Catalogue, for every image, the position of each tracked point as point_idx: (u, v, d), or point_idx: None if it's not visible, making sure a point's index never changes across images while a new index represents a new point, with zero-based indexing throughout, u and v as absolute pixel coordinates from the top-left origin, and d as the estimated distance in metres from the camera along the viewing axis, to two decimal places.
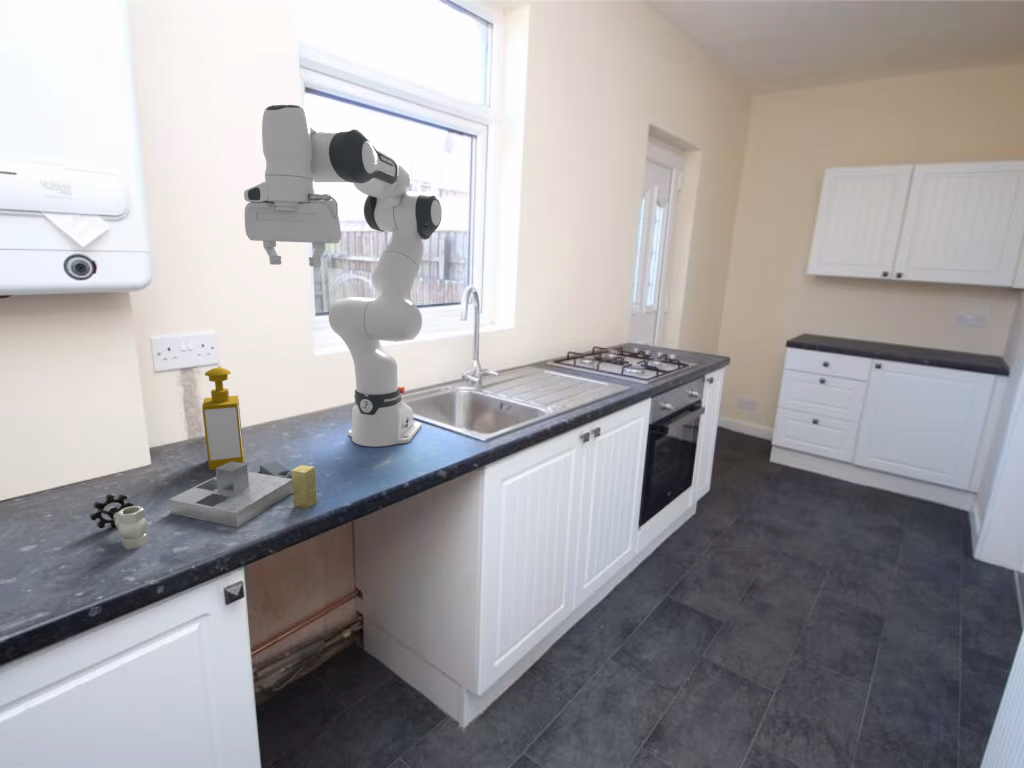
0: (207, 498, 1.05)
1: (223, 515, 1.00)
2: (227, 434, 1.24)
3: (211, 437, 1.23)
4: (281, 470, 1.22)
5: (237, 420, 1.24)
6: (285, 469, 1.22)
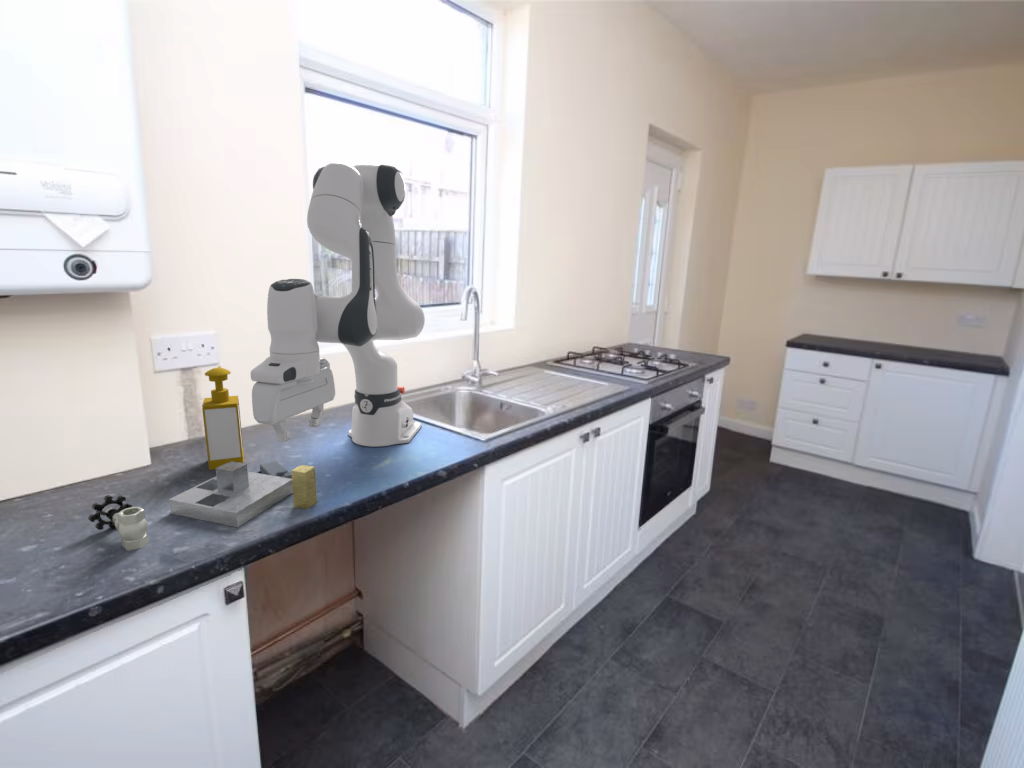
0: (207, 498, 1.05)
1: (223, 515, 1.00)
2: (227, 434, 1.24)
3: (211, 437, 1.23)
4: (279, 471, 1.21)
5: (237, 420, 1.24)
6: (283, 470, 1.22)
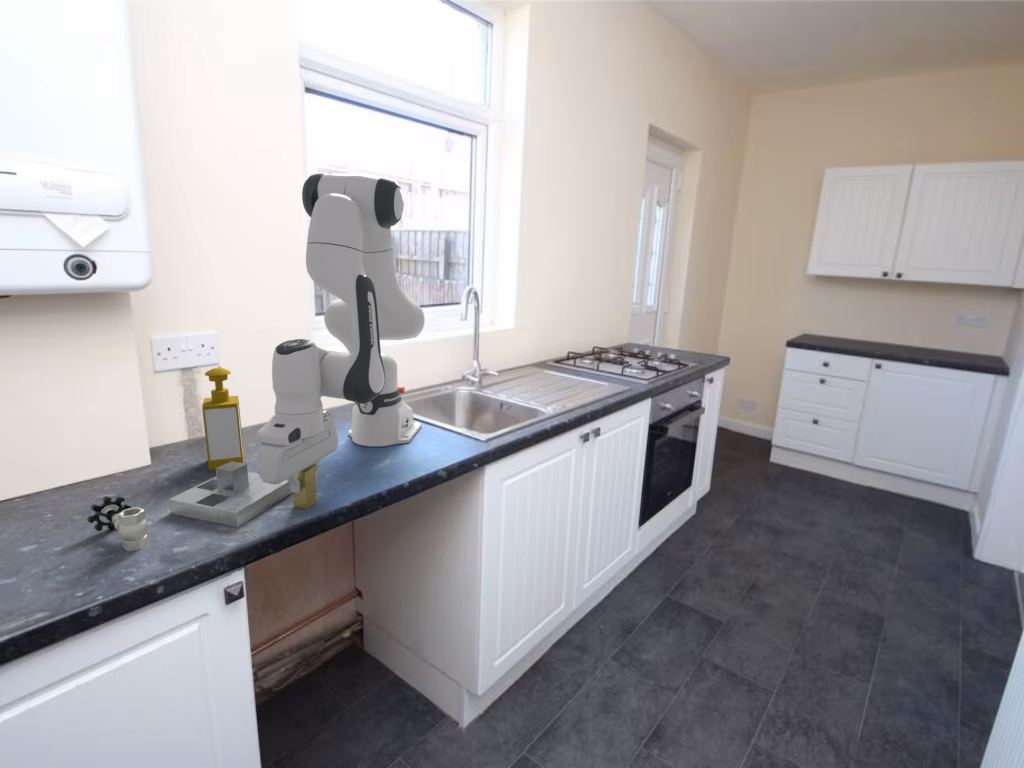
0: (207, 498, 1.05)
1: (223, 515, 1.00)
2: (227, 434, 1.24)
3: (211, 437, 1.23)
4: None
5: (237, 420, 1.24)
6: None
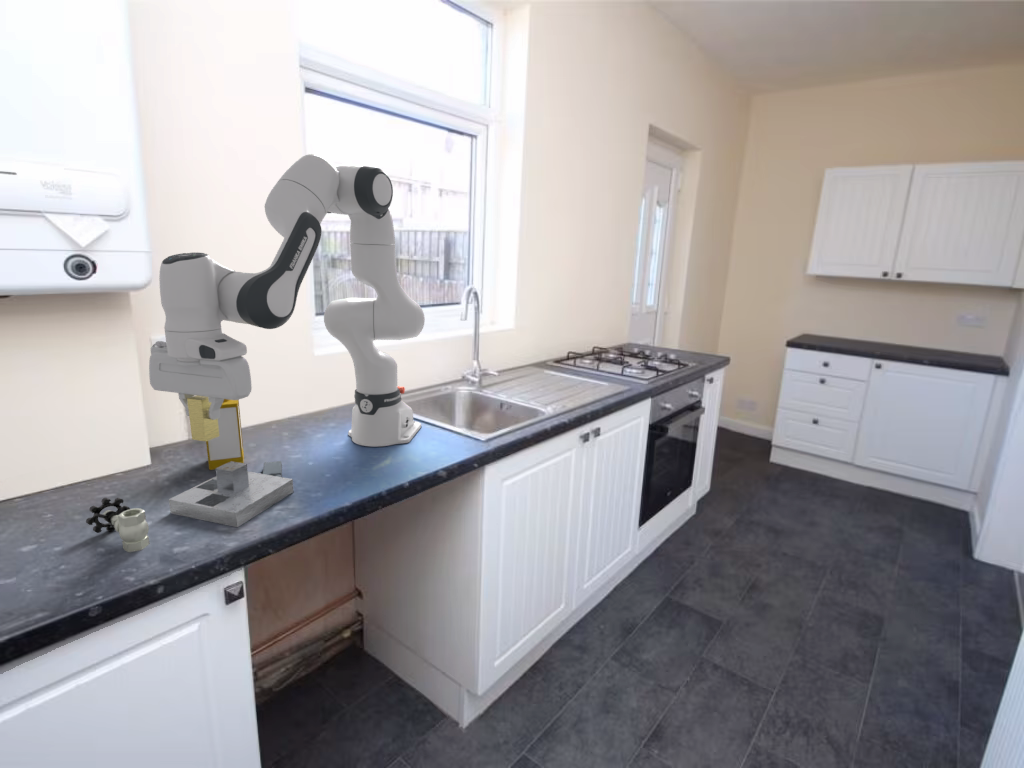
0: (207, 498, 1.05)
1: (223, 515, 1.00)
2: (227, 434, 1.24)
3: None
4: (274, 472, 1.21)
5: (237, 420, 1.24)
6: (278, 471, 1.21)
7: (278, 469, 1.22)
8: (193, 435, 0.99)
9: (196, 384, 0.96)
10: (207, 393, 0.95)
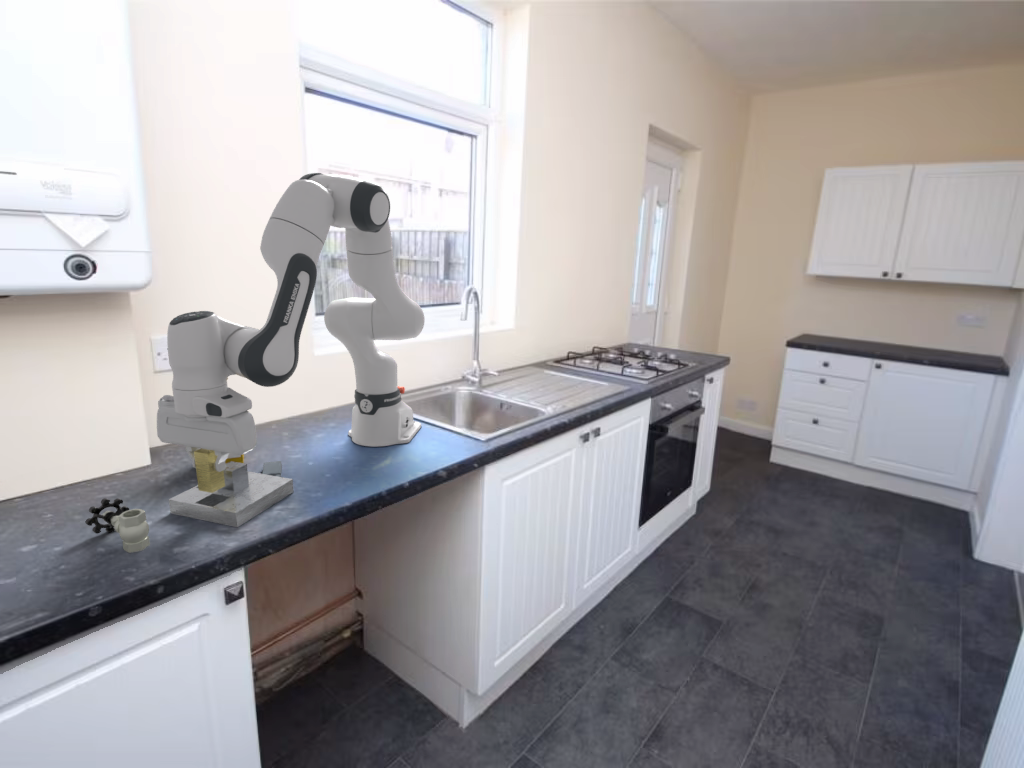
0: (207, 498, 1.05)
1: (223, 515, 1.00)
2: None
3: None
4: (273, 472, 1.21)
5: None
6: (277, 471, 1.21)
7: (278, 469, 1.22)
8: (199, 486, 1.01)
9: (203, 438, 0.98)
10: (213, 447, 0.98)
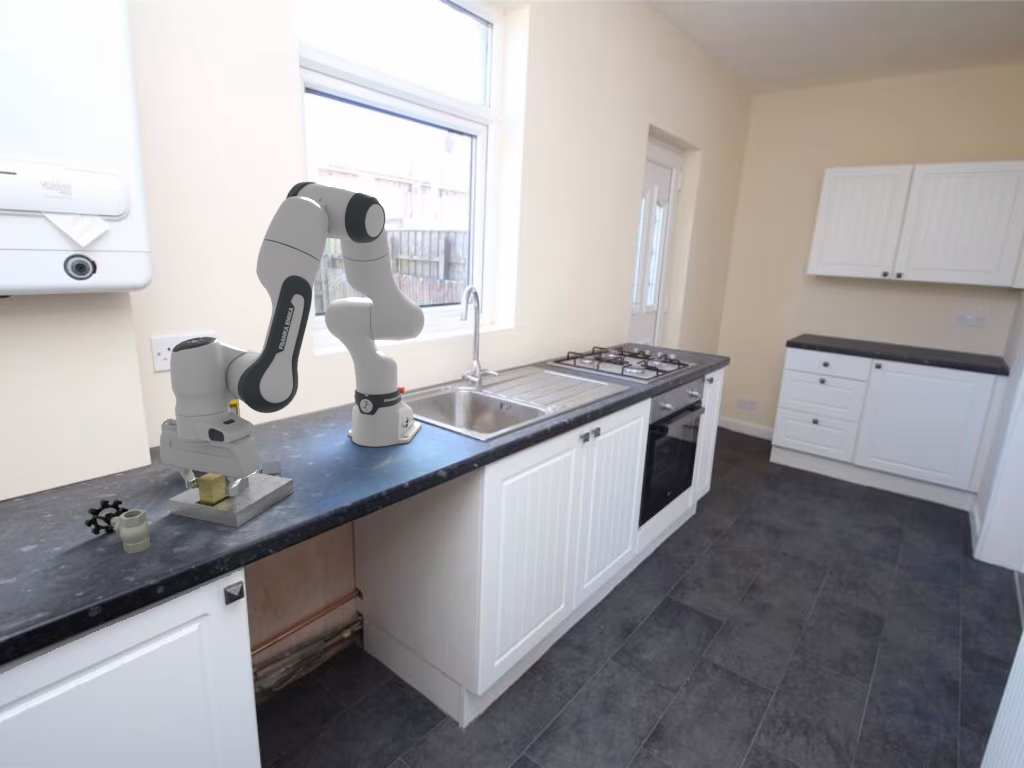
0: None
1: (223, 515, 1.00)
2: None
3: None
4: (272, 472, 1.21)
5: None
6: (277, 471, 1.21)
7: (277, 469, 1.22)
8: None
9: (206, 462, 0.99)
10: (215, 471, 0.99)
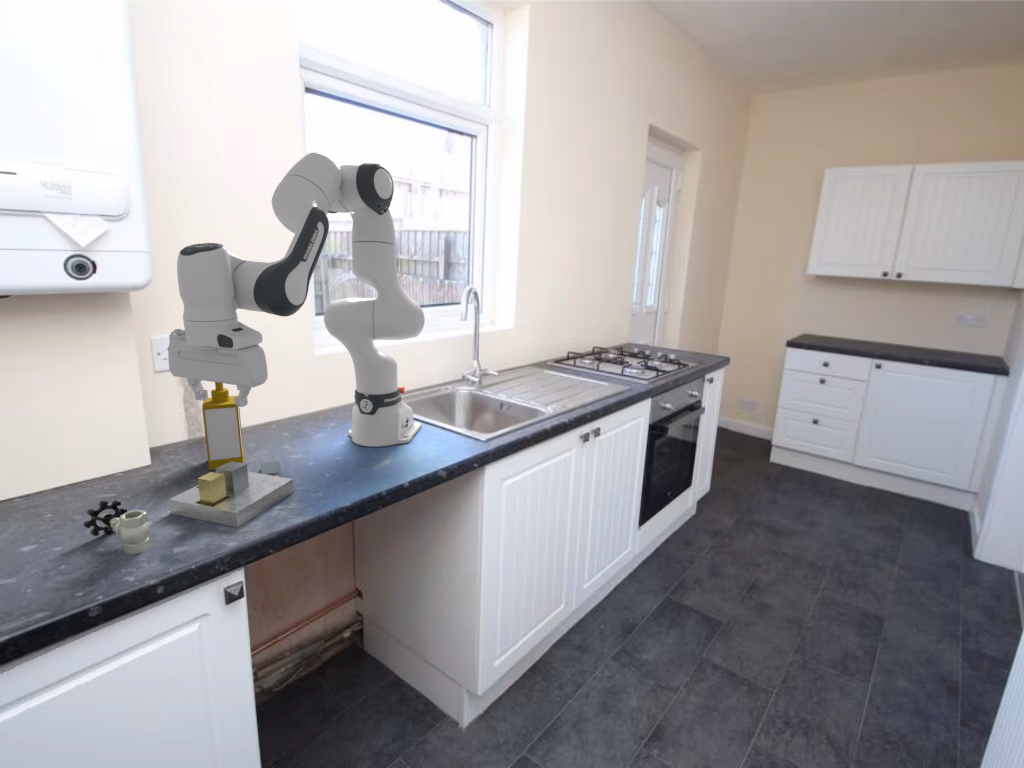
0: None
1: (223, 515, 1.00)
2: (227, 434, 1.24)
3: (211, 437, 1.23)
4: (272, 471, 1.21)
5: (237, 420, 1.24)
6: (276, 471, 1.21)
7: (276, 469, 1.22)
8: None
9: (215, 371, 0.99)
10: (225, 380, 0.99)
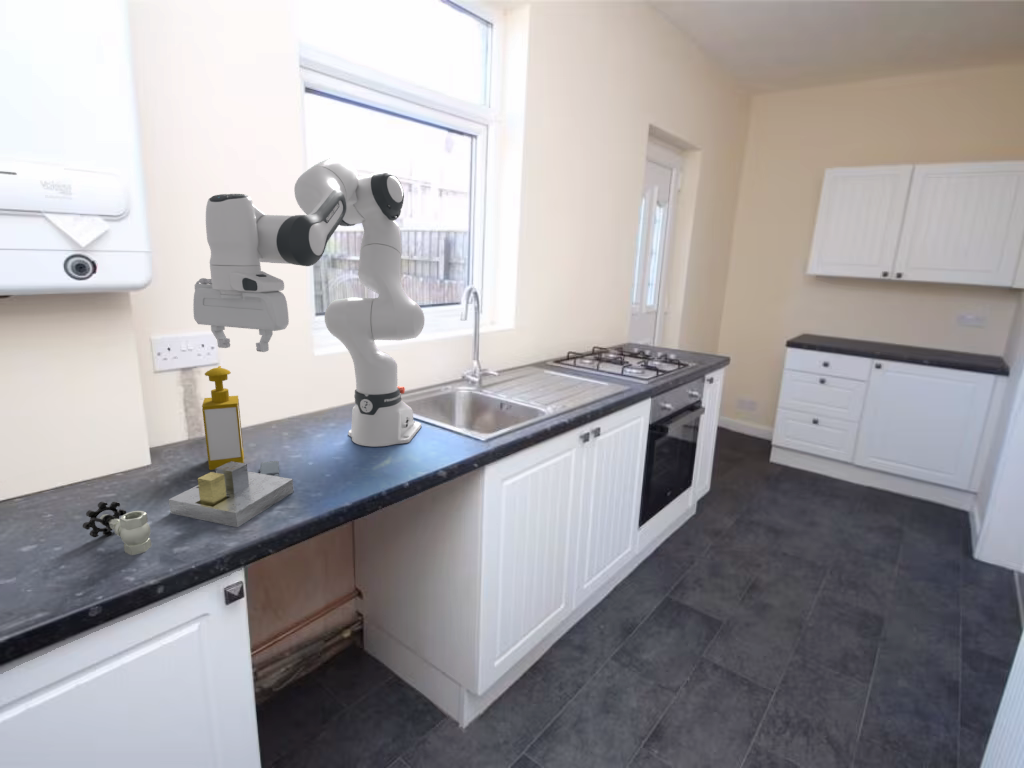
0: None
1: (223, 515, 1.00)
2: (227, 434, 1.24)
3: (211, 437, 1.23)
4: (271, 471, 1.21)
5: (237, 420, 1.24)
6: (275, 471, 1.21)
7: (275, 469, 1.22)
8: None
9: (238, 316, 1.03)
10: (248, 325, 1.03)
